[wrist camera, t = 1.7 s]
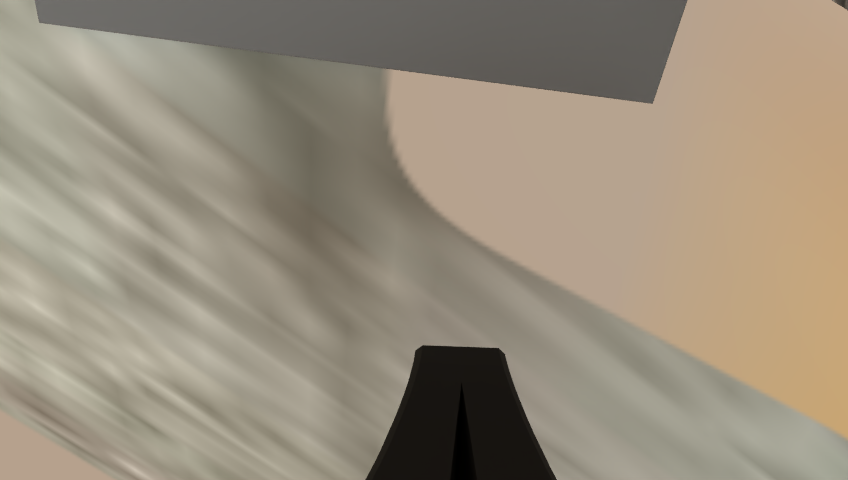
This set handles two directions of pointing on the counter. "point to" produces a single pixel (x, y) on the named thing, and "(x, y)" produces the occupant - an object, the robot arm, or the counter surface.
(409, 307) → the counter surface
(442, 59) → the mat
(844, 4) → the ink box
